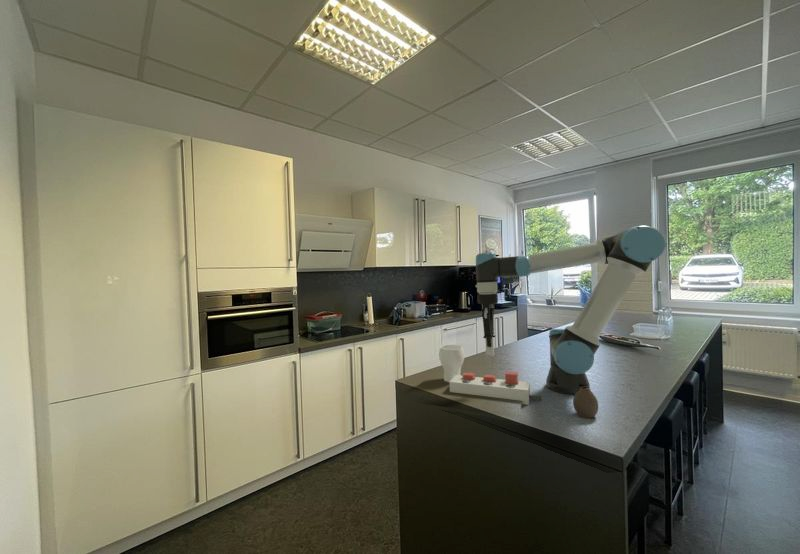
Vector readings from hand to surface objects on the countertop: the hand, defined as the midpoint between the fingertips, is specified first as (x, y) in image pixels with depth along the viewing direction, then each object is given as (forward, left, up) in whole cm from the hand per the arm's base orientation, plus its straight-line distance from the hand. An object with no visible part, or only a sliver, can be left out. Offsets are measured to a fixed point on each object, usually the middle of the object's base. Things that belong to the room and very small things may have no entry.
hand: (490, 354), depth 123 cm
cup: (+17, -8, -15) cm, 24 cm away
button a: (-8, 0, -10) cm, 12 cm away
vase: (-31, +9, -15) cm, 35 cm away
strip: (-2, +2, -15) cm, 15 cm away
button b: (0, 0, -12) cm, 12 cm away
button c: (+8, 0, -12) cm, 14 cm away
